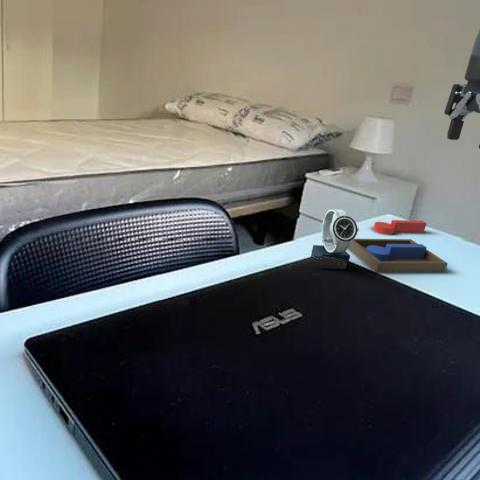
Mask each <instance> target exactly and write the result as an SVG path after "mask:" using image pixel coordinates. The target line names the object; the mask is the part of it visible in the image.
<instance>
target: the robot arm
mask: <svg viewBox="0 0 480 480" xmlns="http://www.w3.org/2000/svg"><path fill="white" fill-rule="evenodd" d="M471 49H472V50H471V53H470V57H469V60H468V63H467V67H466V69H465V70H466V71H465V74H464V80H465V81H467V83H465V84H464V83H454V84H453V85H452V87H451V90H450V93H449V96H448V99H447V103H446V105H445V109H444V115H446V116H448V117H449V120H450V123H449V126H448V130H447V136H446V138H447V140H449V141H458V140H459V139H460V136H461V134H462V130H463V126H464V123H465V121H464V120H465V119H466V117H468V116H469V115H470V114H471V113H477V114H480V29H479V30H478V32H477V35H476V36H475V39H474V42H473V46H472V48H471ZM454 104H455V105H454ZM453 106H454V107H453ZM478 149H479V150H480V143H479V145H478Z"/></svg>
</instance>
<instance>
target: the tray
mask: <svg viewBox="0 0 480 480" xmlns="http://www.w3.org/2000/svg"><path fill="white" fill-rule="evenodd" d="M386 244H418V242H416V241H414V239H411V238H354V239H353V242H352V244H351V245H349V247H348V248H347V250H349V251H350V252H351V253H353V254H354V255H355V256H356V257H357V258H358V259H359V260H361V261H362V262H363V263H364V264H366V265H367V266H368V267H369V268H371V270H373V271H374V272H375V273H446V270H447V266H448V262H446V261H445V260H443V259H442V258H440V257H439V256H438V255H436V254H435V253H433V252H432V251H430V250H428V249H427V248H426V251H425V255H424V258H423V259H388V261H380V260H378V259H377V258H376V257H375V256H373V255H372V254H371V253H370V252H368V251H367V250H366V248H367V246H371V245H374V246H380V247H383V248H386Z"/></svg>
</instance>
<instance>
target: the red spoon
mask: <svg viewBox="0 0 480 480" xmlns="http://www.w3.org/2000/svg"><path fill="white" fill-rule="evenodd" d="M427 224H428V223H427V222H426V221H424V220H412V219H411V220H409V219H408V220H405V219H392V220H391V221H390V223H389V222H386V221H375V222H374V225H373V228H372V230H373V231H374V232H376V233H378V234H381V235H386V236H393V235H394V233H395V234H396V233H399V234H402V233H405V234H424V233H425V230H426V227H427Z"/></svg>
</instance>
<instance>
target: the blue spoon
mask: <svg viewBox="0 0 480 480" xmlns="http://www.w3.org/2000/svg"><path fill="white" fill-rule="evenodd" d="M427 247H428V246H426V245H424V244H423V243H417V244H386V248H383V247H380V246H374V245H371V246H367V248H366V250H367V251H368V252H370V253H371V254H372V255H373V256H375V257H376V258H377V259H378V260H380V261H388V259H423V258H424V255H425V251H426V249H427Z"/></svg>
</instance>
